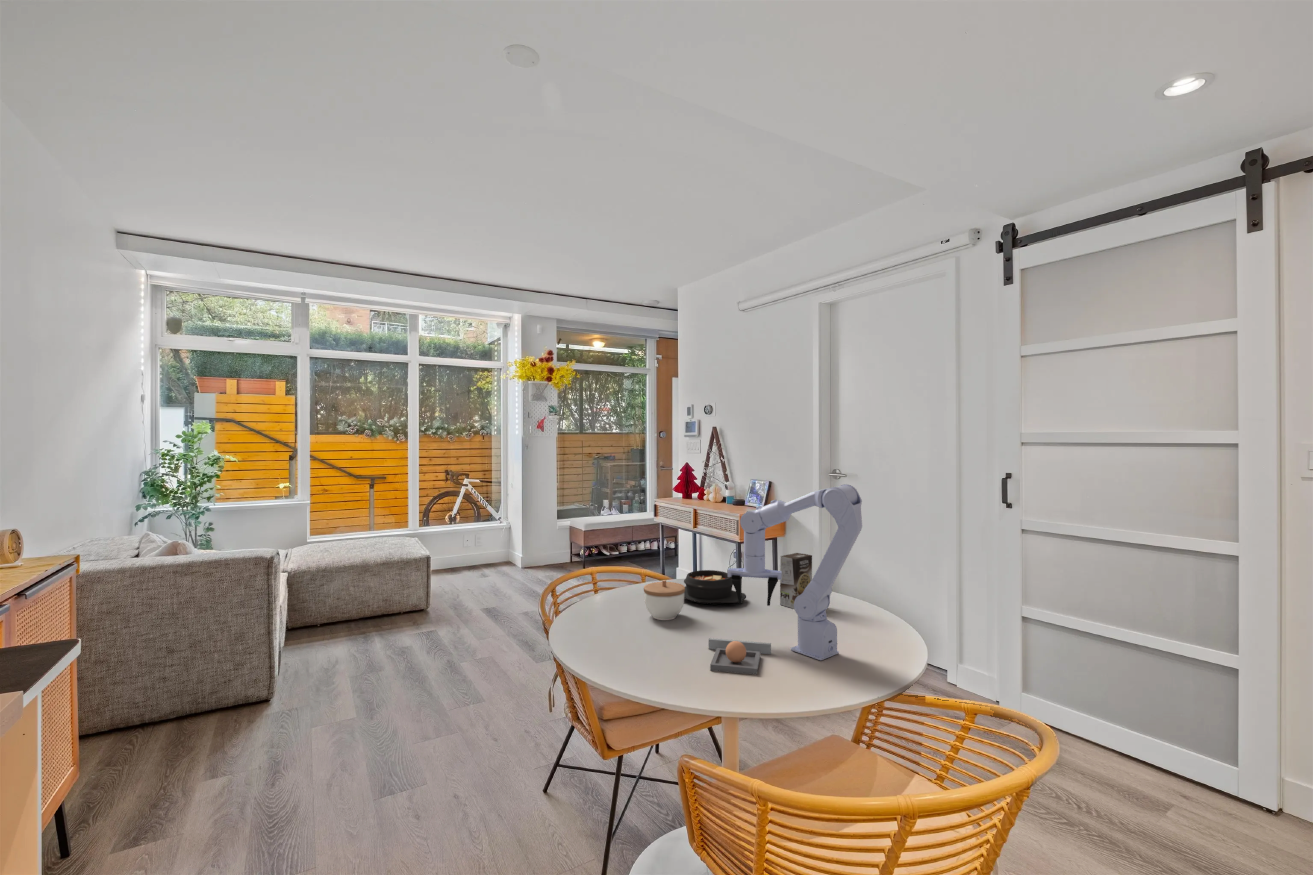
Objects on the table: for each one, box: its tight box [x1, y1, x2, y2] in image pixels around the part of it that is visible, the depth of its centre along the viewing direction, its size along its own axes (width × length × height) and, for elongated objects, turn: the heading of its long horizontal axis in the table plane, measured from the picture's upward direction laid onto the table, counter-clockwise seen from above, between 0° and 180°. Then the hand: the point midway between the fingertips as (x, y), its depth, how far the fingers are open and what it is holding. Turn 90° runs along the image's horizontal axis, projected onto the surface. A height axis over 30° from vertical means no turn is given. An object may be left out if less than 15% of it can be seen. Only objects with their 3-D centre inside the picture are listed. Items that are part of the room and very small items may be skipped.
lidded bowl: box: [643, 579, 685, 621], centre depth 183 cm, size 13×13×11 cm
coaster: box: [709, 648, 761, 676], centre depth 146 cm, size 11×11×1 cm
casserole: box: [683, 569, 747, 605], centre depth 200 cm, size 25×19×8 cm
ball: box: [726, 640, 746, 663], centre depth 146 cm, size 5×5×5 cm
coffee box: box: [779, 552, 813, 610], centre depth 195 cm, size 9×6×16 cm
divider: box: [708, 637, 772, 655], centre depth 155 cm, size 16×1×2 cm, turn 76°
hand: (754, 603), depth 164 cm, fingers open, 7 cm apart
